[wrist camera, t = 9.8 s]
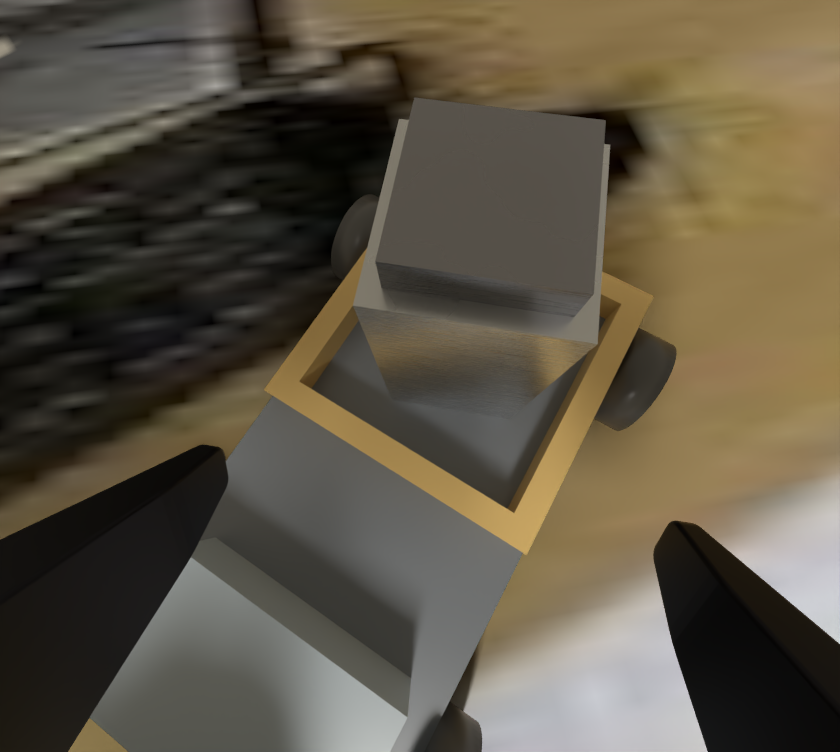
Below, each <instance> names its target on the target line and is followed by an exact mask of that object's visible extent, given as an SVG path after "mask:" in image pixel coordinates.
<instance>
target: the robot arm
mask: <svg viewBox="0 0 840 752" xmlns="http://www.w3.org/2000/svg"><path fill="white" fill-rule="evenodd" d="M228 479H229V476H228V471H227V466H226V461H225V456H224V452H223V450H222V449H221V448H219V447H215V446H209V445H199V446H197V447H195V448H193V449H190V450H188V451H186V452H184V453H182V454H180V455H178V456H176V457H174V458H171V459H169V460H167V461H165V462H163V463H161V464H159V465H157V466H155V467H153V468H150V469H148V470H146V471H144V472H142V473H140V474H138V475H136V476H134V477H132V478H129V479H127V480H125V481H123V482H121V483H119V484H117V485H115V486H113V487H110V488H108V489H106V490H104V491H102V492H100V493H98V494H96V495H94V496H92V497H89V498H87V499H85V500H83V501H81V502H79V503H77V504H75V505H73V506H70V507H68V508H66V509H64V510H62V511H60V512H58V513H56V514H54V515H51V516H49V517H47V518H45V519H43V520H41V521H39V522H37V523H35V524H32V525H30V526H28V527H26V528H24V529H22V530H20V531H18V532H16V533H14V534H11V535H9V536H7V537H5V538H3V539H1V540H0V752H68V751H69V749H70V747H71V746H72V744H73V743H74V741H75V740H76V738H77V736H78V735H79V733H80V732H81V730H82V728H83V727H84V725H85V724H86V722H87V721H88V719H89V717H90V716H91V714H92V713H93V711H94V710H95V708H96V706H97V705H98V703H99V702H100V700H101V699H102V697H103V695H104V694H105V692H106V691H107V689H108V688H109V686H110V684H111V683H112V681H113V680H114V678H115V677H116V675H117V673H118V672H119V670H120V669H121V667H122V666H123V664H124V662H125V661H126V659H127V658H128V656H129V655H130V653H131V651H132V650H133V648H134V647H135V645H136V644H137V642H138V640H139V639H140V637H141V636H142V634H143V632H144V631H145V629H146V628H147V626H148V625H149V623H150V621H151V620H152V618H153V617H154V615H155V614H156V612H157V610H158V609H159V607H160V606H161V604H162V603H163V601H164V599H165V598H166V596H167V595H168V593H169V592H170V590H171V588H172V587H173V585H174V584H175V582H176V581H177V579H178V577H179V576H180V574H181V573H182V571H183V570H184V568H185V566H186V565H187V563H188V561H189V560H190V558H191V556H192V555H193V553H194V551H195V549H196V547H197V545H198V543H199V541H200V539H201V537H202V535H203V534H204V532H205V530H206V528H207V526H208V524H209V522H210V520H211V518H212V516H213V514H214V512H215V510H216V508H217V506H218V504H219V502H220V500H221V498H222V496H223V494H224V492H225V490H226V488H227V485H228ZM653 556H654V564H655V568H656V573H657V577H658V582H659V586H660V591H661V595H662V600H663V604H664V609H665V613H666V618H667V622H668V627H669V631H670V635H671V639H672V643H673V646H674V649H675V653H676V656H677V659H678V662H679V665H680V668H681V671H682V674H683V677H684V681H685V684H686V687H687V690H688V693H689V696H690V699H691V702H692V705H693V708H694V711H695V714H696V717H697V720H698V723H699V726H700V729H701V732H702V735H703V738H704V742H705V745H706V748H707V751H708V752H840V644H839V643H838V642H837V641H835V640H834V639H833V638H832V637H831V636H829V635H828V634H827V633H826V632H825V631H823V630H822V629H821V628H820V627H819V626H818V625H816V624H815V623H814V622H813V621H812V620H810V619H809V618H808V617H807V616H806V615H804V614H803V613H802V612H801V611H800V610H798V609H797V608H796V607H795V606H794V605H792V604H791V603H790V602H789V601H788V600H786V599H785V598H784V597H783V596H782V595H781V594H779V593H778V592H777V591H776V590H775V589H773V588H772V587H771V586H770V585H769V584H767V583H766V582H765V581H764V580H763V579H761V578H760V577H759V576H758V575H757V574H755V573H754V572H753V571H752V570H751V569H750V568H748V567H747V566H746V565H745V564H744V563H742V562H741V561H740V560H739V559H738V558H736V557H735V556H734V555H733V554H732V553H730V552H729V551H728V550H727V549H726V548H724V547H723V546H722V545H721V544H720V543H719V542H717V541H716V540H715V539H714V538H713V537H711V536H710V535H709V534H708V533H707V532H705V531H704V530H703V529H702V528H701V527H699V526H698V525H696V524H693V523H688V522H681V521H672V522H670V523H669V524H668V525H667V527H666V529H665V531H664V532H663V534H662V536H661V537H660V539H659V541H658V543H657V544H656V546H655V548H654V554H653Z"/></svg>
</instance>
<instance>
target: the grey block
mask: <svg viewBox="0 0 840 752" xmlns="http://www.w3.org/2000/svg"><path fill="white" fill-rule="evenodd" d="M605 123H606V120H598V119H590V118H582V117H573V116H565V115H557V114H548V113H540V112H531V111H523V110H515V109H506V108H498V107H489V106H481V105H473V104H464V103H456V102H447V101H439V100H431V99H422V98H414V101H413V105H412V110H411V114H410V118H409V120H404V119H399V122H398V126H397V130H396V134H395V138H394V142H393V146H392V150H391V154H390V158H389V162H388V166H387V170H386V174H385V178H384V182H383V186H382V190H381V194H380V198H379V202H378V206H377V210H376V214H375V218H374V223H373V227H372V231H371V235H370V239H369V243H368V247H367V251H366V255H365V259H364V263H363V267H362V271H361V275H360V279H359V283H358V287H357V291H356V295H355V299H354V303H353V307H354V309H355V312H356V314H357V317H358V319H359V321H360V324H361V326H362V329H363V331H364V334H365V336H366V338H367V341H368V343H369V346H370V348H371V350H372V353H373V355H374V358H375V360H376V363H377V365H378V367H379V370H380V372H381V375H382V377H383V380H384V382H385V384H386V387H387V389H388V392H389V394H390V396H391V399H392V400H397V401H403V402H409V403H415V404H420V405H426V406H432V407H438V408H444V409H449V410H455V411H461V412H467V413H472V414H478V415H484V416H490V417H496V418H501V419H507V420H509V419H510V418H512V417H513V416H514V415H515V414H516V413H517V412H519V411H520V410H521V409H522V408H523V407H524V406H526V405H527V404H528V403H529V402H530V401H532V400H533V399H534V398H535V397H536V396H537V395H539V394H540V393H541V392H542V391H543V390H544V389H546V388H547V387H548V386H549V385H550V384H551V383H553V382H554V381H555V380H556V379H557V378H558V377H560V376H561V375H562V374H563V373H564V372H566V371H567V370H568V369H569V368H570V367H571V366H573V365H574V364H575V363H576V362H577V361H578V360H580V359H581V358H582V357H583V356H584V355H585V354H587V353H588V352H589V351H590V350H591V349H592V348H594V347H595V346H596V345H597V344H598V330H599V314H600V298H601V282H602V266H603V250H604V234H605V218H606V202H607V186H608V170H609V154H610V145H607V144H604V138H605Z"/></svg>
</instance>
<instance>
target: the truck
mask: <svg viewBox="0 0 840 752" xmlns="http://www.w3.org/2000/svg"><path fill="white" fill-rule="evenodd" d="M378 202H379V197H377V196H375V195H372V194H368V195H365V196H363V197H361V198H360V199H358V200H357V201H356V202H355V203H354V204H353V205H352V206H351V207H350V209H349V210H348V211H347V213H346V214H345V216H344V218H343V219H342V221H341V223H340V225H339V228H338V230H337V233H336V235H335V239H334V242H333V246H332V252H331V266H332V270H333V273H334V274H335V275H336V277H338V278H340V279H342V280H343V282H342V283H341V284H340V286H339V287H338V288H337V290H336V291H335V293H334V294H333V295H332V297H331V298H330V299H329V301H328V302H327V304H326V305H325V306H324V308H323V309H322V310H321V312H320V313H319V315H318V316H317V317H316V319H315V320H314V321H313V323H312V324H311V326H310V327H309V328H308V330H307V331H306V332H305V334H304V335H303V337H302V338H301V339H300V341H299V342H298V343H297V345H296V346H295V348H294V349H293V350H292V352H291V353H290V354H289V356H288V357H287V359H286V360H285V361H284V363H283V364H282V365H281V367H280V368H279V370H278V371H277V372H276V374H275V375H274V376H273V378H272V379H271V381H270V382H269V383H268V385H267V386H266V388H265V389H264V390H265V391H266V392H268V393H269V394H271V395H273V396H272V398H271V399H270V400H269V402H268V403H267V405H266V406H265V407H264V409H263V410H262V412H261V413H260V414H259V416H258V417H257V419H256V420H255V421H254V423H253V424H252V426H251V427H250V428H249V430H248V431H247V433H246V434H245V435H244V437H243V438H242V439H241V441H240V442H239V444H238V445H237V446H236V448H235V449H234V451H233V452H232V453H231V455H230V456H229V458H228V459H227V460H226V466H227V471H228V476H229V479H228V485H227V488H226V490H225V492H224V494H223V496H222V498H221V500H220V502H219V504H218V506H217V508H216V510H215V512H214V514H213V516H212V518H211V520H210V522H209V524H208V526H207V528H206V530H205V532H204V534H203V535H202V537H201V539H200V541H199V543H198V545H197V547H196V549H195V551H194V553H193V555H192V556H191V558H190V560H189V561H188V563H187V565H186V566H185V568H184V570H183V571H182V573H181V574H180V576H179V577H178V579H177V581H176V582H175V584H174V585H173V587H172V588H171V590H170V592H169V593H168V595H167V596H166V598H165V599H164V601H163V603H162V604H161V606H160V607H159V609H158V610H157V612H156V614H155V615H154V617H153V618H152V620H151V621H150V623H149V625H148V626H147V628H146V629H145V631H144V632H143V634H142V636H141V637H140V639H139V640H138V642H137V644H136V645H135V647H134V648H133V650H132V651H131V653H130V655H129V656H128V658H127V659H126V661H125V662H124V664H123V666H122V667H121V669H120V670H119V672H118V673H117V675H116V677H115V678H114V680H113V681H112V683H111V684H110V686H109V688H108V689H107V691H106V692H105V694H104V695H103V697H102V699H101V700H100V702H99V703H98V705H97V706H96V708H95V710H94V711H93V713H92V714H91V716H90V717H89V718H91V719H92V720H93V721H94V722H95V723H96V724H97V725H99V726H100V727H101V728H102V729H103V730H104V731H105V732H107V733H108V734H109V735H110V736H111V737H112V738H114V739H115V740H116V741H117V742H118V743H119V744H120V745H122V746H123V747H124V748H125V749H126V750H127V751H128V752H481V751H482V733H481V728H480V725H479V723H478V722H477V721H476V720H474V719H473V718H472V717H470V716H469V715H467V714H466V713H465V712H463V711H462V710H460V709H459V708H458V707H456V706H455V705H454V704H452V703H451V702H449V701H450V699H451V697H452V695H453V693H454V691H455V689H456V687H457V685H458V683H459V681H460V679H461V677H462V675H463V673H464V671H465V669H466V667H467V665H468V663H469V661H470V659H471V657H472V655H473V653H474V651H475V649H476V647H477V645H478V643H479V641H480V638H481V636H482V634H483V632H484V630H485V628H486V626H487V624H488V622H489V620H490V618H491V616H492V614H493V612H494V610H495V608H496V606H497V604H498V602H499V600H500V598H501V596H502V594H503V592H504V590H505V588H506V586H507V584H508V582H509V580H510V578H511V576H512V574H513V572H514V570H515V568H516V566H517V564H518V562H519V560H520V558H521V556H522V554H523V553H524V554H526V555H527V553H528V551H529V549H530V547H531V545H532V543H533V541H534V539H535V537H536V535H537V533H538V531H539V529H540V527H541V525H542V523H543V521H544V519H545V517H546V515H547V513H548V511H549V509H550V507H551V504H552V502H553V500H554V498H555V496H556V494H557V492H558V490H559V488H560V486H561V484H562V482H563V480H564V478H565V476H566V474H567V472H568V470H569V468H570V466H571V464H572V462H573V460H574V458H575V456H576V454H577V452H578V450H579V448H580V446H581V444H582V441H583V439H584V437H585V435H586V433H587V431H588V429H589V427H590V425H591V423H592V421H593V419H596V420H598V421H599V422H601V423H603V424H605V425H607V426H609V427H610V428H612V429H614V430H616V431H619V430H623V429H625V428H627V427H629V426H630V425H632V424H633V423H634V422H635V421H637V420H638V419H639V418H640V417H641V416H642V415H643V414H644V413H645V412H646V410H647V409H648V408H649V407H650V406H651V404H652V403H653V402H654V401H655V399H656V398H657V396H658V395H659V393H660V392H661V390H662V389H663V387H664V385H665V384H666V382H667V380H668V378H669V376H670V374H671V372H672V369H673V366H674V363H675V359H676V348H675V346H674V345H672V344H670V343H668V342H666V341H664V340H662V339H660V338H658V337H656V336H654V335H652V334H650V333H648V332H646V331H644V330H642V329H640V328H639V326H640V324H641V322H642V320H643V317H644V315H645V313H646V311H647V309H648V307H649V305H650V303H651V301H652V299H653V297H654V296H652V295H650V294H648V293H646V292H644V291H642V290H640V289H638V288H636V287H634V286H632V285H630V284H628V283H626V282H624V281H622V280H619V279H617V278H615V277H613V276H611V275H609V274H607V273H605V272H603V271H602V282H601V298H600V314H599V330H598V344H597V345H596V346H595V347H594V348H592V349H591V350H590V351H589V352H588V353H587V354H585V355H584V356H583V357H582V358H581V359H580V360H578V361H577V362H576V363H575V364H574V365H573V366H571V367H570V368H569V369H568V370H567V371H566V372H564V373H563V374H562V375H561V376H560V377H558V378H557V379H556V380H555V381H554V382H553V383H551V384H550V385H549V386H548V387H547V388H546V389H544V390H543V391H542V392H541V393H540V394H539V395H537V396H536V397H535V398H534V399H533V400H532V401H530V402H529V403H528V404H527V405H526V406H524V407H523V408H522V409H521V410H520V411H519V412H517V413H516V414H515V415H514V416H513V417H512V418H510V419H509V420H507V419H501V418H496V417H490V416H484V415H478V414H472V413H467V412H461V411H455V410H449V409H444V408H438V407H432V406H426V405H420V404H415V403H409V402H403V401H397V400H392V399H391V396H390V394H389V392H388V389H387V387H386V384H385V382H384V380H383V377H382V375H381V372H380V370H379V367H378V365H377V363H376V360H375V358H374V355H373V353H372V350H371V348H370V346H369V343H368V341H367V338H366V336H365V334H364V331H363V329H362V326H361V324H360V321H359V319H358V317H357V314H356V312H355V309H354V307H353V303H354V299H355V295H356V291H357V287H358V283H359V279H360V275H361V271H362V267H363V263H364V259H365V255H366V251H367V247H368V243H369V239H370V235H371V231H372V227H373V223H374V218H375V214H376V210H377V206H378Z"/></svg>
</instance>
